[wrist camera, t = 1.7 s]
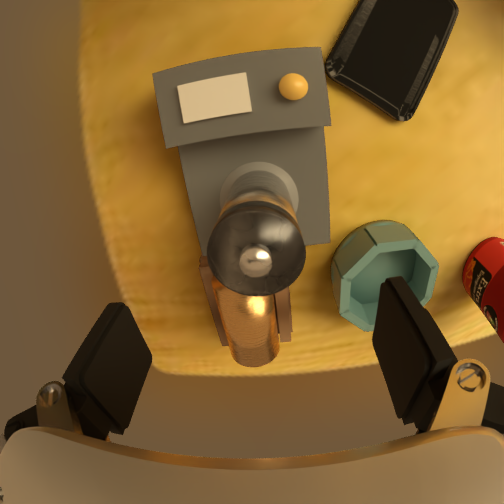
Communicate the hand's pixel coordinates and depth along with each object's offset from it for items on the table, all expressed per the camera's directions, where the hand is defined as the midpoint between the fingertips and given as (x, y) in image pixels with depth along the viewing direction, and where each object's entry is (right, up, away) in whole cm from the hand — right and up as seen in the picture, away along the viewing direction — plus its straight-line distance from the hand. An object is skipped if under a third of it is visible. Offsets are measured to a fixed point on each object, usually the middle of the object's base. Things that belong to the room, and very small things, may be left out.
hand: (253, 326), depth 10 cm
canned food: (+27, +1, +14) cm, 30 cm away
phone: (+12, +20, +5) cm, 24 cm away
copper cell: (0, -2, +15) cm, 15 cm away
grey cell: (0, +6, +10) cm, 12 cm away
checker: (0, +10, +10) cm, 14 cm away
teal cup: (+12, +1, +15) cm, 19 cm away
